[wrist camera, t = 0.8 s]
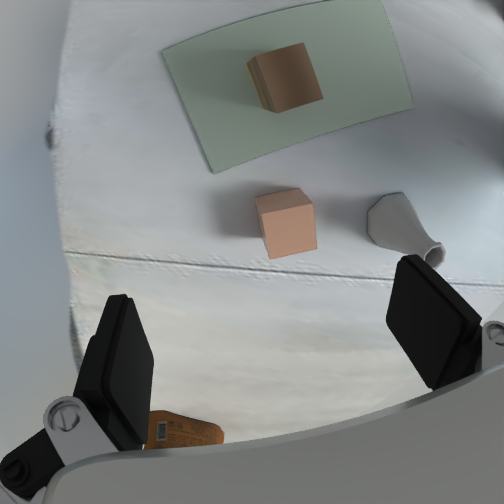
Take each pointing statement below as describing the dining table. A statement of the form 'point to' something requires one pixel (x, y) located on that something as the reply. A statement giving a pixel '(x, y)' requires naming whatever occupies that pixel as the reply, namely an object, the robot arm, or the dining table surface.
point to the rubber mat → (324, 64)
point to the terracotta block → (286, 223)
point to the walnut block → (284, 78)
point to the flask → (402, 230)
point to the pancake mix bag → (180, 432)
